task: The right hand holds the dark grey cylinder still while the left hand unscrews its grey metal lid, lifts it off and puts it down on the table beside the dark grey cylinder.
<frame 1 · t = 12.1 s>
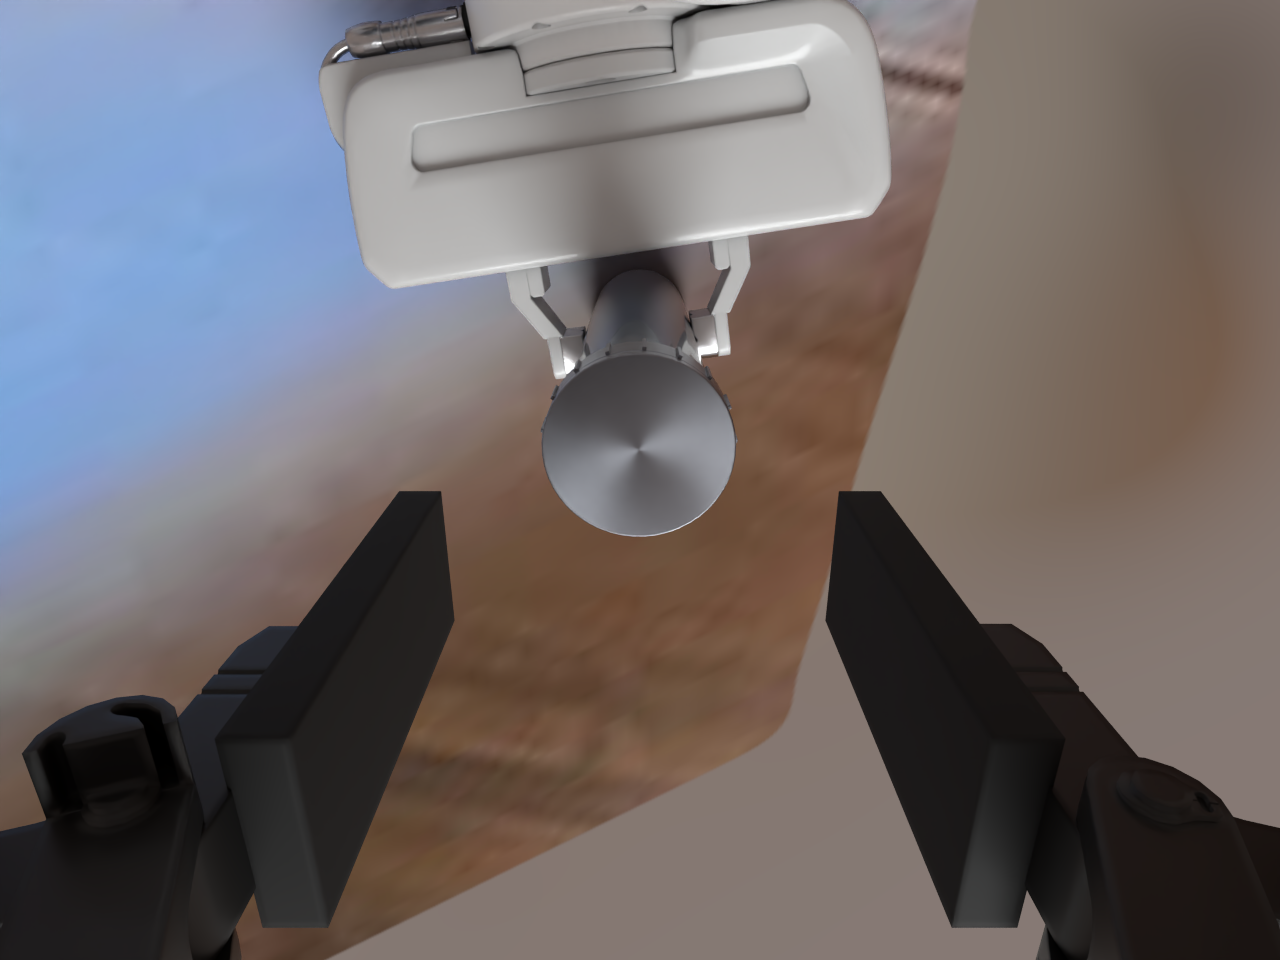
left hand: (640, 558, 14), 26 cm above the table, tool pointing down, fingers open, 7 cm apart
right hand: (643, 364, 32), fingers closed on dark grey cylinder, 4 cm apart
dark grey cylinder: (639, 315, 38), on the table, touching right hand
lid: (638, 445, 20), point 19 cm above the table, screwed on, not yet turned
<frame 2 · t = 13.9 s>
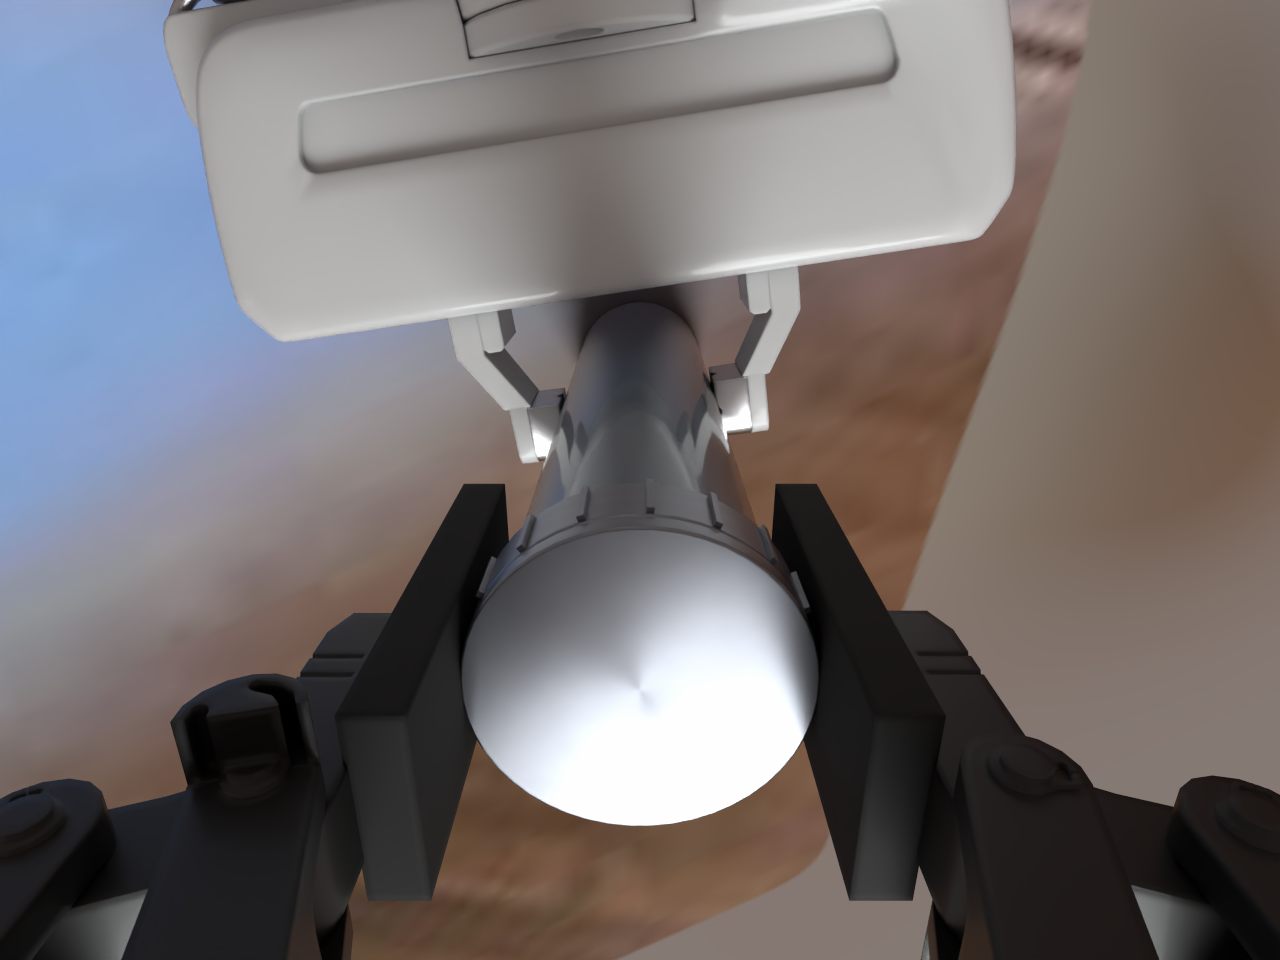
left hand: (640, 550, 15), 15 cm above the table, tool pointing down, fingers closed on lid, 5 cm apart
right hand: (646, 441, 23), fingers closed on dark grey cylinder, 4 cm apart
dark grey cylinder: (640, 362, 29), on the table, touching right hand
lid: (640, 674, 11), point 19 cm above the table, screwed on, not yet turned, touching left hand
when the left hand's fingers open (16 cm above the table, at t = 15.5 s): lid stays where it is, point 20 cm above the table.
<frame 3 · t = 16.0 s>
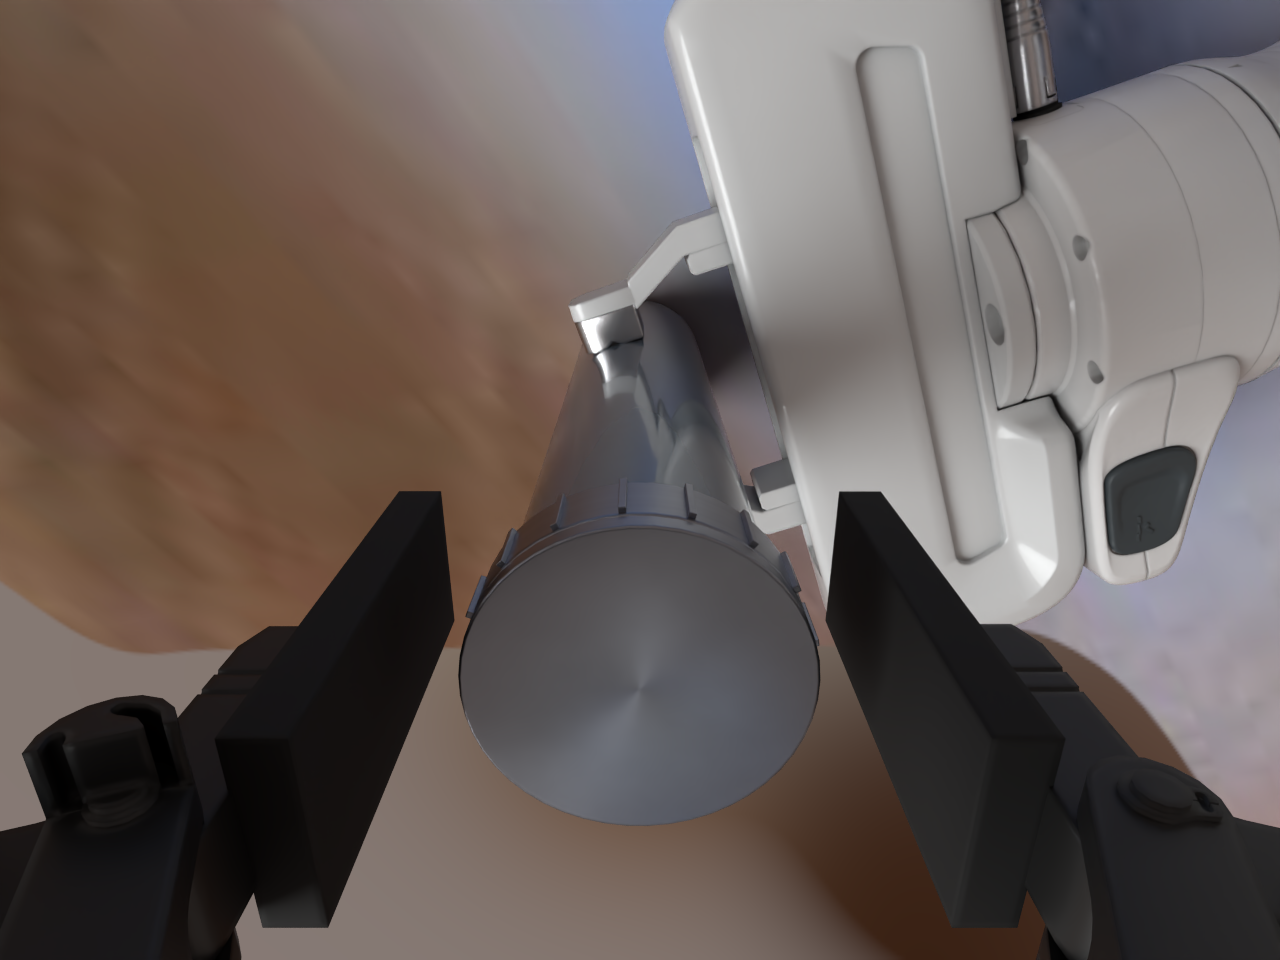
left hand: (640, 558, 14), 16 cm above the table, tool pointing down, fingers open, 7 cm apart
right hand: (612, 419, 23), fingers closed on dark grey cylinder, 4 cm apart
dark grey cylinder: (639, 359, 29), on the table, touching right hand
lid: (639, 674, 11), point 20 cm above the table, turned 109° so far, risen 0.4 cm, still on its thread
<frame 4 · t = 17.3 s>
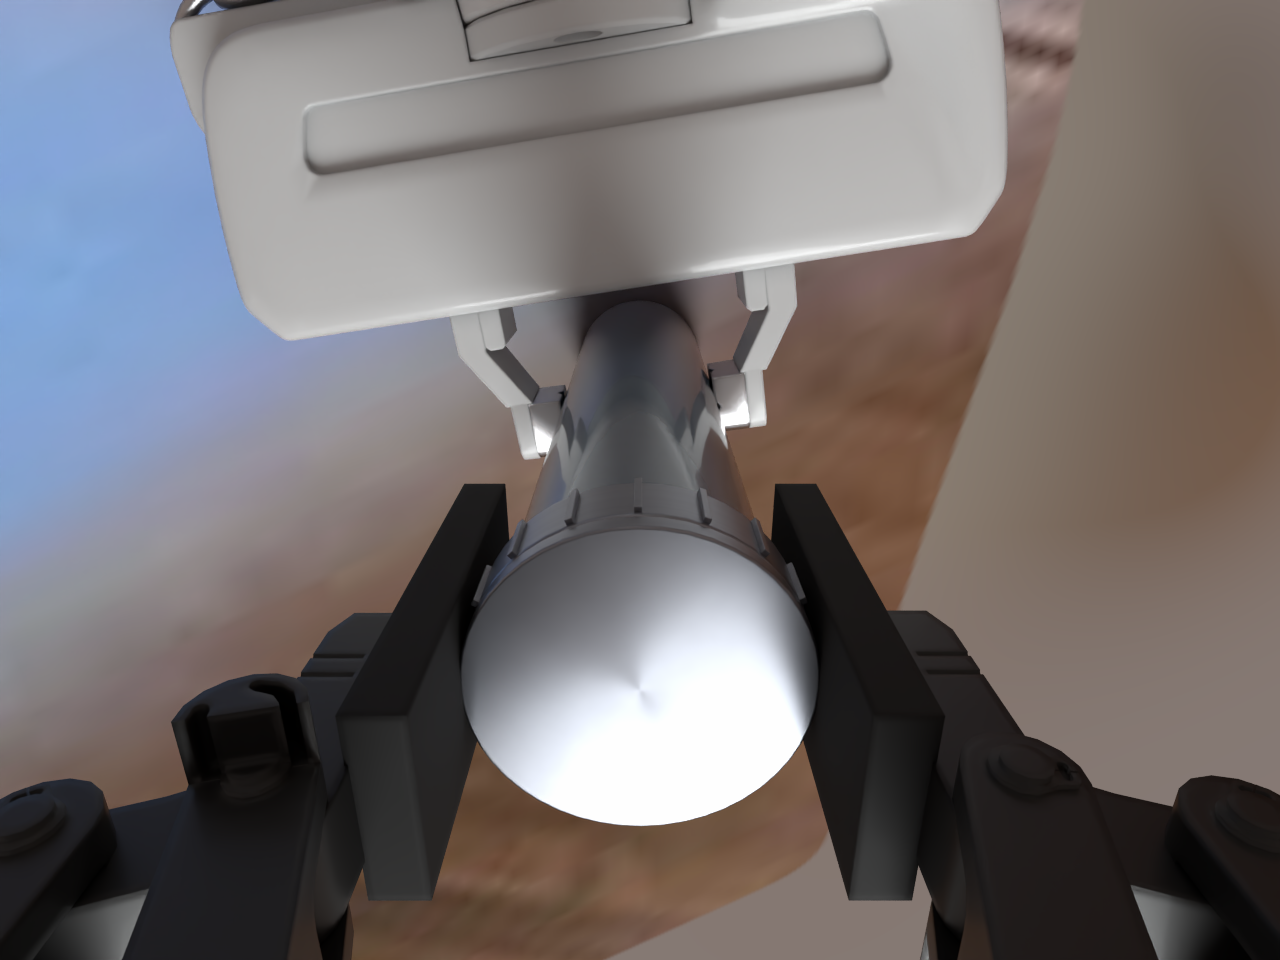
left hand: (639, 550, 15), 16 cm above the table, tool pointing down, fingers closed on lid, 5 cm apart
right hand: (645, 437, 24), fingers closed on dark grey cylinder, 4 cm apart
dark grey cylinder: (639, 359, 29), on the table, touching right hand
lid: (639, 674, 11), point 20 cm above the table, turned 109° so far, risen 0.4 cm, still on its thread, touching left hand
when the left hand's fingers open (0 cm above the table, at t = 24.3 s): lid drops 3 cm, point 1 cm above the table.
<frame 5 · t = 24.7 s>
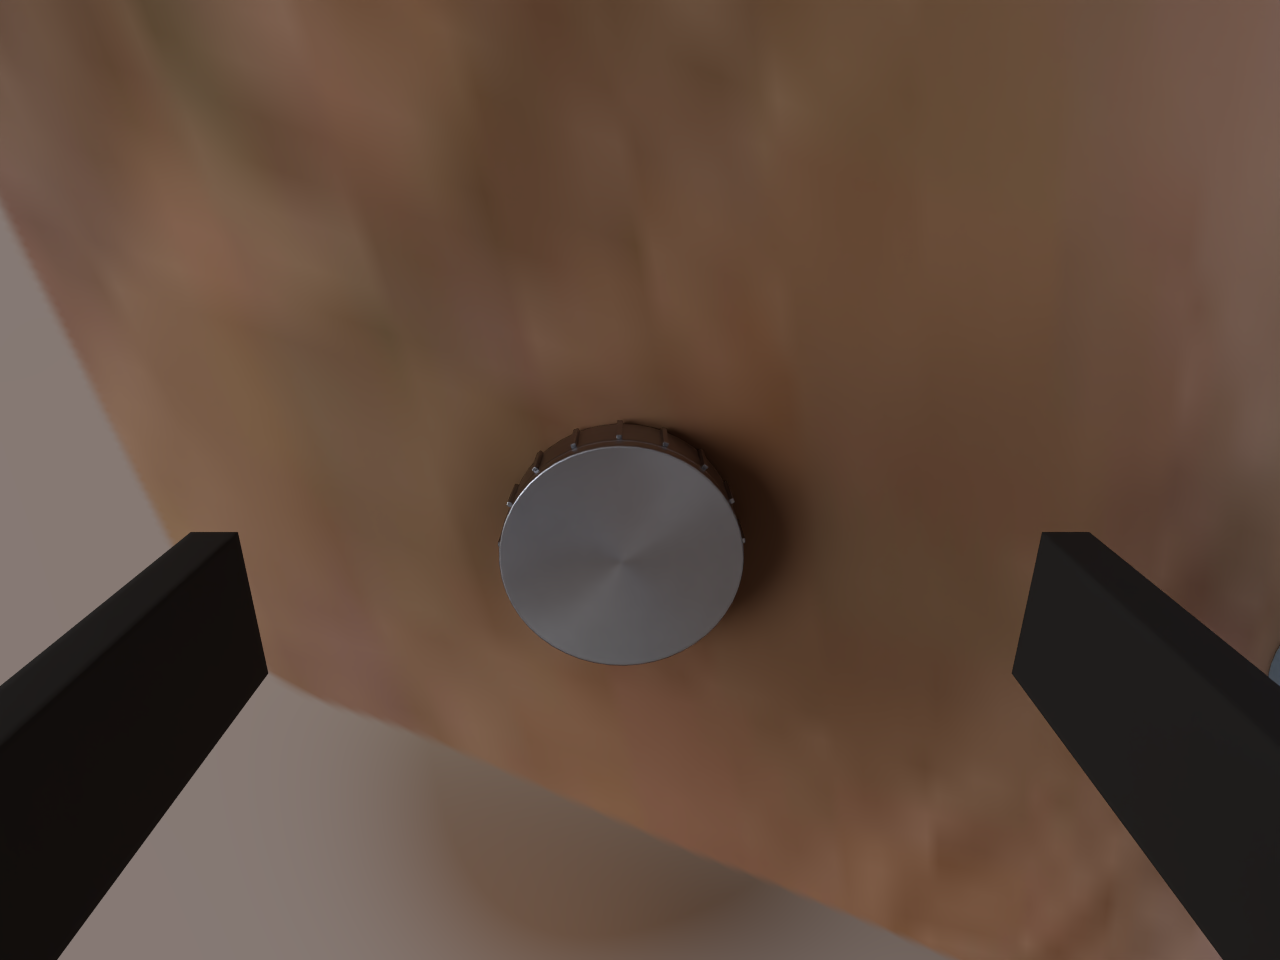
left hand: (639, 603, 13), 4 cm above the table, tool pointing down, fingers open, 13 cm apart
lid: (621, 554, 16), point 1 cm above the table, off its thread
when the right hand's fingers open (7 cm above the table, at t = 25.0 s): dark grey cylinder stays where it is, on the table.
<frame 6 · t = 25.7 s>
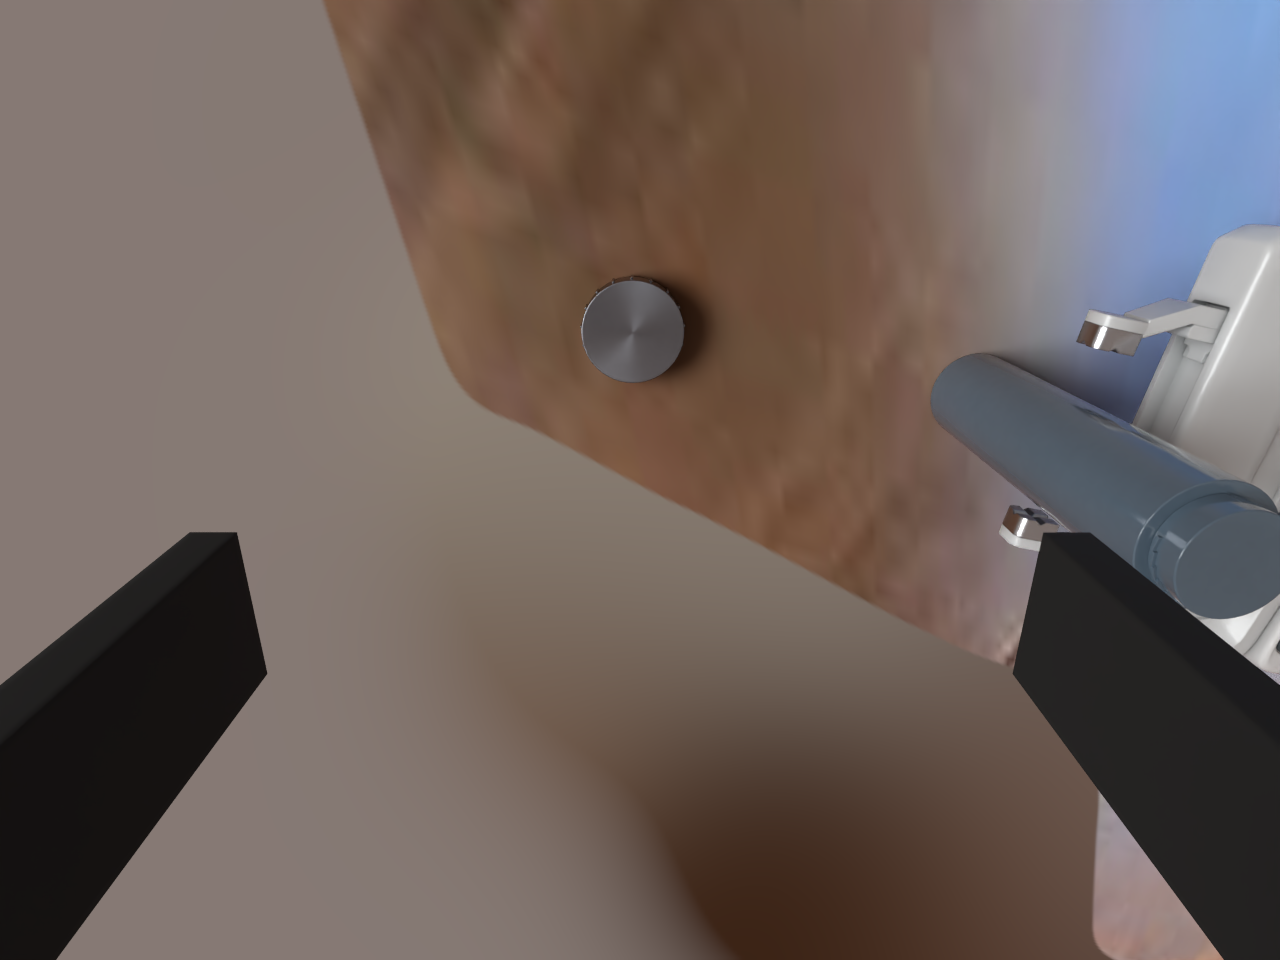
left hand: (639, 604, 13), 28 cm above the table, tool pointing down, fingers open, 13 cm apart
dark grey cylinder: (973, 395, 41), on the table
lid: (632, 331, 38), point 1 cm above the table, off its thread
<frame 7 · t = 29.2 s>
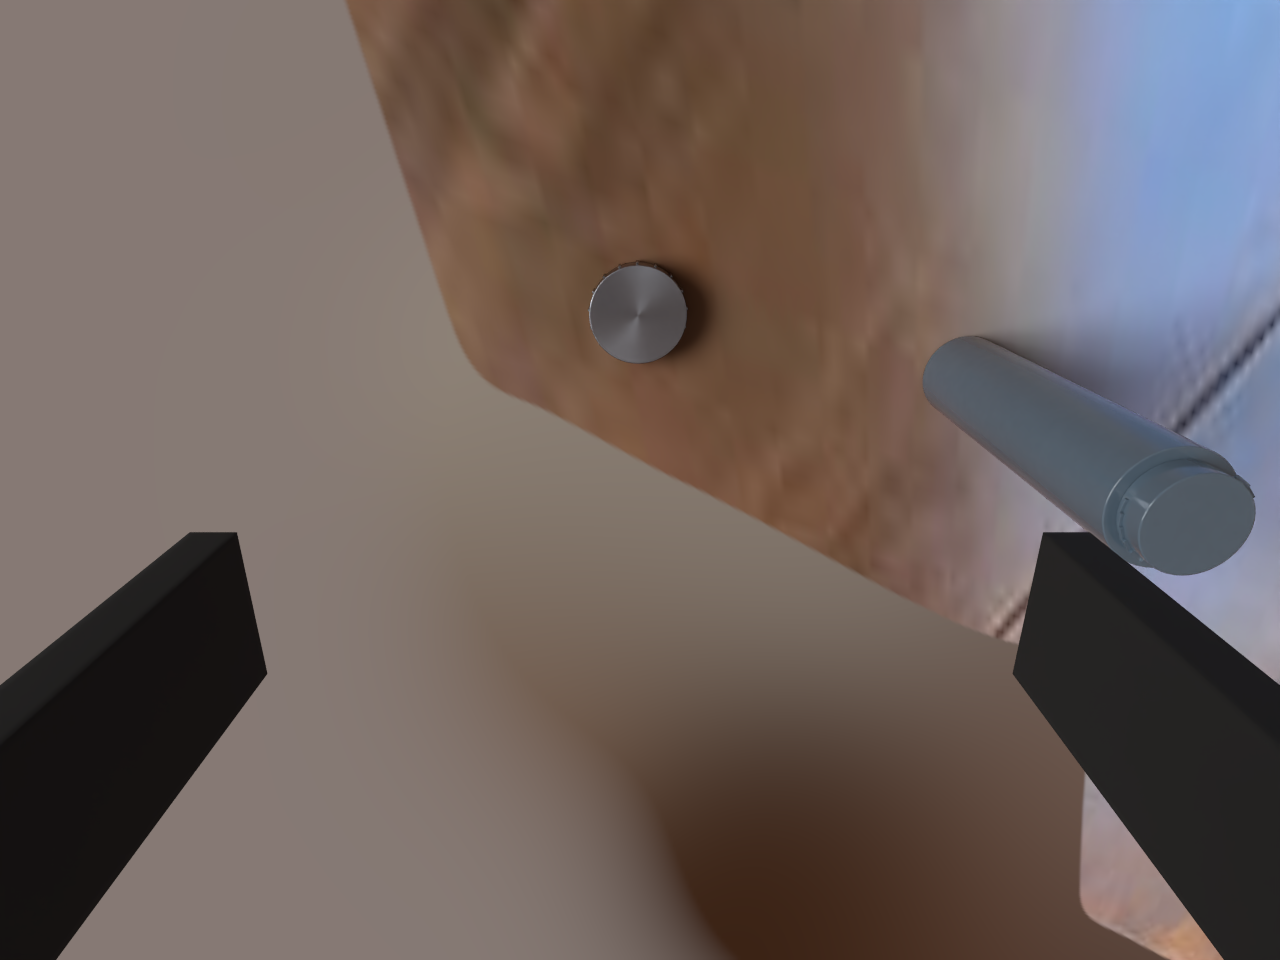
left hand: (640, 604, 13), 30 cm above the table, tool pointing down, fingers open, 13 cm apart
dark grey cylinder: (963, 376, 43), on the table
lid: (638, 314, 40), point 1 cm above the table, off its thread
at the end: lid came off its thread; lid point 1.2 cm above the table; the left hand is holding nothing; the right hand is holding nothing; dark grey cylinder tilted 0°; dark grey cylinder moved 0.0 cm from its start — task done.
